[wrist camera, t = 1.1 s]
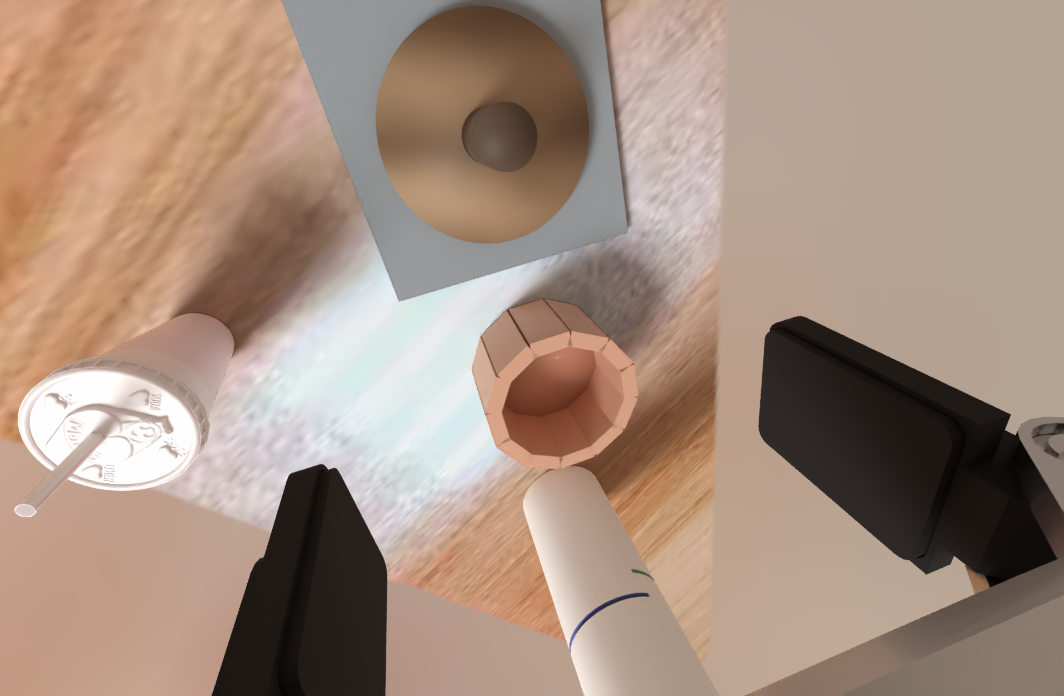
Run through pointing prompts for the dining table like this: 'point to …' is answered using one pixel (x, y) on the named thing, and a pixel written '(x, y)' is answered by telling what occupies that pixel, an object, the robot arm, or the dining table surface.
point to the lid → (482, 124)
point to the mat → (350, 105)
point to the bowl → (552, 384)
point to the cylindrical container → (607, 594)
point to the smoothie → (127, 410)
